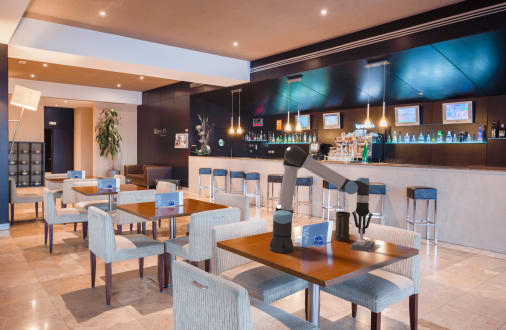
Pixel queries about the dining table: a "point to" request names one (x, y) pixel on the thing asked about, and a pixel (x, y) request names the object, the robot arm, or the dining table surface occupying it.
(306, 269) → the dining table surface
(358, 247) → the grey dice tray
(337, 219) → the beer stein
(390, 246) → the dining table surface
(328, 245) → the dining table surface
